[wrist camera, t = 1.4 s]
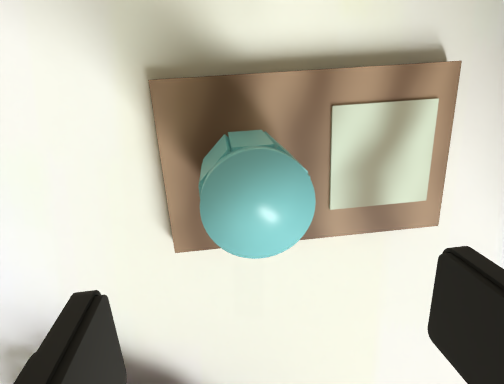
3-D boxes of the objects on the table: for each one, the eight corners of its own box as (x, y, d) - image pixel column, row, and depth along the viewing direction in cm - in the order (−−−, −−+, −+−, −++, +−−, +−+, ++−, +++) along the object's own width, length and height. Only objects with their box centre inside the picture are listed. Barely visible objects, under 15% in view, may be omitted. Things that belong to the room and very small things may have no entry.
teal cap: (289, 127, 22) (315, 145, 16) (291, 211, 24) (315, 252, 18) (198, 134, 21) (193, 154, 16) (208, 219, 23) (206, 264, 18)
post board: (447, 61, 25) (556, 54, 17) (427, 218, 29) (506, 271, 21) (152, 79, 23) (120, 81, 15) (177, 244, 28) (162, 311, 20)
